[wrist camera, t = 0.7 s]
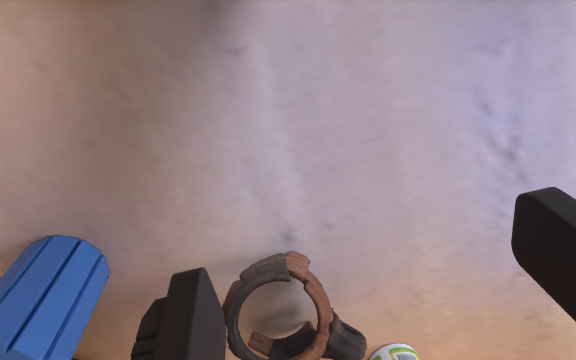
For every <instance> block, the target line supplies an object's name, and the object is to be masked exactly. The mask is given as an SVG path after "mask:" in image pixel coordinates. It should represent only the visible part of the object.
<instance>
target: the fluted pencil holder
mask: <svg viewBox="0 0 576 360" xmlns="http://www.w3.org/2000/svg"><path fill="white" fill-rule="evenodd" d="M100 253H101V251H99V250H98V249H97V248H95V247H94V246H92V245H91V244H89V243H88V242H86V241H85V240H82V241H81V242H80V243H79V244H78V237H70V236H61V235H55V236H54V237H53V238H52V237H51V236H48V237H45V238H43V239H41V240H39V241H36V242H34V243H32V244H31V245H30V246H29V247H28V248H27V249H26V250H25V251H24V252H23V253H22V254H21V255H20V257H19V258H18V259H17V260H16V261H15V262H14V263H13V265H12V266H11V267H10V268H9V269H8V270H7V272H6V273H5V274H4V275H3V276H2V277H1V278H0V360H71V358H72V356H73V354H74V352H75V350H76V347H77V345H78V343H79V341H80V339H81V336H82V334H83V332H84V330H85V328H86V326H87V323H88V321H89V319H90V317H91V315H92V312H93V310H94V308H95V306H96V304H97V302H98V299H99V297H100V295H101V293H102V291H103V288H104V286H105V284H106V282H107V280H108V278H109V275H108V274H109V268H108V265H107V262H106V260H105V257H104V255H100V256H99V254H100Z"/></svg>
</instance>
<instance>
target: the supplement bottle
mask: <svg viewBox="0 0 576 360" xmlns="http://www.w3.org/2000/svg"><path fill="white" fill-rule="evenodd" d="M369 360H420V358H419V356H418V355H417V353H416V352H415V350H414V349H413V348H412V347H410V346H408V345H405V344H399V343H398V344H390V345H387V346H384V347H382V348H381V349H379V350H378V351H376V352H375V353H374V354H373V355H372V356H371V358H370V359H369Z"/></svg>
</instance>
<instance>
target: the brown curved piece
mask: <svg viewBox="0 0 576 360" xmlns="http://www.w3.org/2000/svg"><path fill="white" fill-rule="evenodd" d="M309 263H310V260H309V259H308V258H307V257H306V256H304V255H302V254H299V253H296V252H287V254H286V255H285V254H282V253H279V254H277V255H273V256H270V257H268V258H265V259H263V260H261V261H258V262H257V263H255V264H253V265H251V266H250V267H249V268H247V269H246V270H244V271H243V272H242V273H241V274H240V280H238V281H235V282H233V284H232V286H231V288H230V290H229V292H228V295H227V297H226V300H225V302H224V304H223V306H222V310H223V314H224V318H225V324H226V327H227V329H228V336H227V342H228V344H229V346H228V347H229V349H230V350H231V352H232V353H233V354H234V355H235V356H236V357H238V358H240V359H241V360H319V359H321V358H327V359H333V360H361V359H363V358H364V356H365V351H366V349H367V344H366V338H365V337H364V335H363V334H362V333H360V332H359V331H357V330H356V329H354V328H353V327H351V326H349V325H348V324H346V323H344V322H343V321H341V320H340V319H339V317H338V316H337V314H336V313H335V312H334V311H333V308H331V306H330V302H329V299H328V297H327V295H326V293H325V291H324V289H323V287H322V285H321V283H320V282H319V280H318V279H317V278H316V277H315V276H314V275H313V274H312V273H311V272H310V271H308V265H309ZM290 276H291V277H293V278H296V279H298V280H300V281H301V282H302V283H303V284H304V290H305V291H306V292H307V294H308V295H309V296H310V297H311V299H312V300H313V302H314V304H315V307H316V310H317V315H318V324H317V332H316V330H315V329H314V328H313V325H312V323H311V322H310V321H307V322H306V324H305V325H304V326H303V327H302V328H301V329H300V330H299V331H298V332H296V333H294V334H292V335H290V336H288V337H285V338H281V339H273V338H268V337H265V336H262V335H260V334H258V333H256V332H253V333H252V335H251V338H250V341H249V343H248V346H249V347H250V348H251V349H253V350H255V351H257V352H259V353H261V354H262V355H264V356H267V357H269V359H266V358H261V357H259V356H258V355H256V354H254V353H253V352H252V351H251V350H250V349H249V348H248V347H247V346H246V345H245V343H244V342H243V340H242V338H241V335H240V332H239V329H238V316H239V311H240V308H241V306H242V304H243V302H244V300H245V299H246V297H247V296H248V295H249V294H250V293H251V292H252V291H254V290H255V289H256V288H258V287H259V286H261V285H263V284H266V283H269V282H274V281H286V282H290V281H291V277H290Z"/></svg>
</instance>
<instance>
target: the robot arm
mask: <svg viewBox="0 0 576 360" xmlns="http://www.w3.org/2000/svg"><path fill="white" fill-rule="evenodd" d="M511 245H512V251H513V254H514V256H515V258H516V260H517V262H518V263H519V265H520V266H521V267H522V268H523V269H524V270H525V271H526V272H527V273H528V274H529V275H530V276H531V277H532V278H533V279H534V280H535V281H536V282H537V283H538V284H539V285H540V286H541V287H542V288H543V289H544V290H545V291H546V292H547V293H548V294H549V295H550V296H551V297H552V298H553V299H554V300H555V301H556V302H557V303H558V304H559V305H560V306H561V307H562V308H563V309H564V310H565V311H566V312H567V313H568V314H569V315H570V316H571V317H572V318H573V319H574V320H575V321H576V199H574V198H572V197H571V196H569V195H568V194H566V193H565V192H563V191H562V190H560V189H558V188H555V187H548V188H544V189H540V190H536V191H531V192H527V193H523V194H520V195H519V196H518V197H517V199H516V203H515V212H514V221H513V231H512V240H511ZM225 349H226V324H225V318H224V314H223V310H222V307H221V305H220V302H219V300H218V298H217V295H216V293H215V290H214V288H213V285H212V283H211V280H210V278H209V275H208V273H207V271H206V269H205V268H204V267H201V268H197V269H193V270H188V271H184V272H180V273H175V274H173V275H172V278H171V281H170V285H169V289H168V294H167V297H165V298H161V299H156V300H155V301H154V302H153V304H152V305H151V306H150V308H149V309H148V311H147V312H146V313H145V315H144V316H143V318H142V320H141V323H140V326H139V330H138V333H137V336H136V342H135V343H134V346H133V350H132V353H131V360H225Z"/></svg>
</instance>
